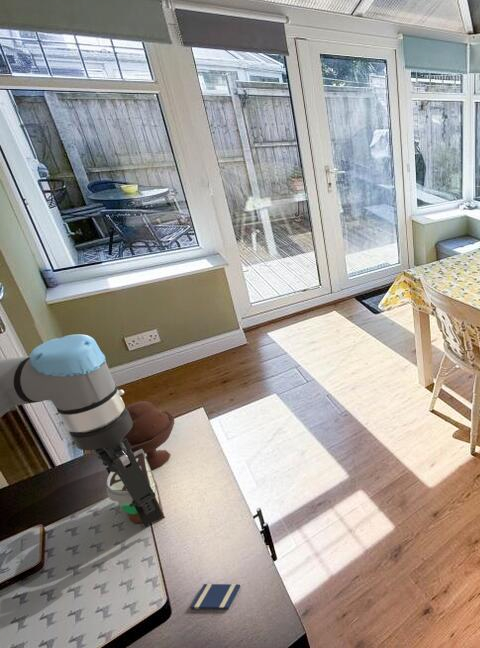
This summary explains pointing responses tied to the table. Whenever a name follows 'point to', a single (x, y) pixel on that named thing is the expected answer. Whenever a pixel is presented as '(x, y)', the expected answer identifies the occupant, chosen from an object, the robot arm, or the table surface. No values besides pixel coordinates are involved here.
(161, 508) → the food container
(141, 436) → the ice cream bowl
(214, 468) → the table surface
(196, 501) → the table surface
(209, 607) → the tea towel
